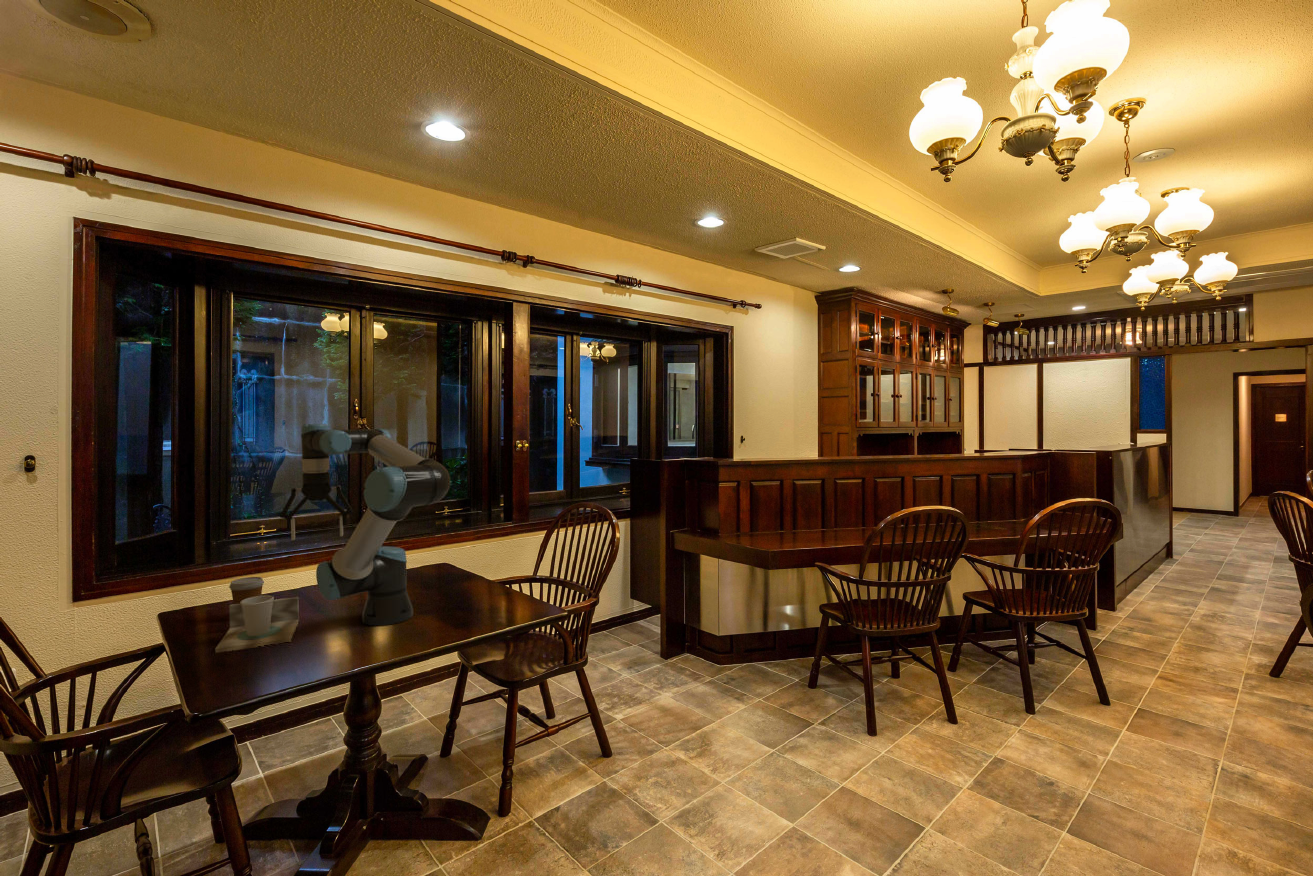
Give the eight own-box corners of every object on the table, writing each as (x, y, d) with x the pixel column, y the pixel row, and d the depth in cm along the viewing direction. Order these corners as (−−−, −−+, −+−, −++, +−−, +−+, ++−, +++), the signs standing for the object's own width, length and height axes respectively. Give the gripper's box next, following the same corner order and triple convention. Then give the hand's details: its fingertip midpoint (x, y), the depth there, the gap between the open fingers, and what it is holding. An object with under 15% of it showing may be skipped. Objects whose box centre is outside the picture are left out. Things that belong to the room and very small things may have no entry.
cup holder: (298, 621, 193) (298, 597, 193) (290, 642, 175) (289, 615, 175) (231, 630, 185) (230, 604, 185) (215, 652, 168) (214, 624, 167)
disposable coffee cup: (272, 612, 202) (270, 577, 201) (245, 622, 193) (244, 585, 192) (249, 610, 204) (248, 575, 204) (222, 619, 195) (221, 583, 195)
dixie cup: (277, 632, 179) (276, 599, 179) (244, 640, 173) (243, 605, 173) (271, 625, 185) (270, 593, 185) (239, 632, 180) (237, 599, 179)
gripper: (359, 469, 202) (361, 532, 202) (272, 472, 191) (274, 538, 192) (359, 471, 195) (360, 536, 196) (268, 474, 184) (270, 543, 185)
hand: (317, 537), depth 194 cm, fingers open, 13 cm apart
